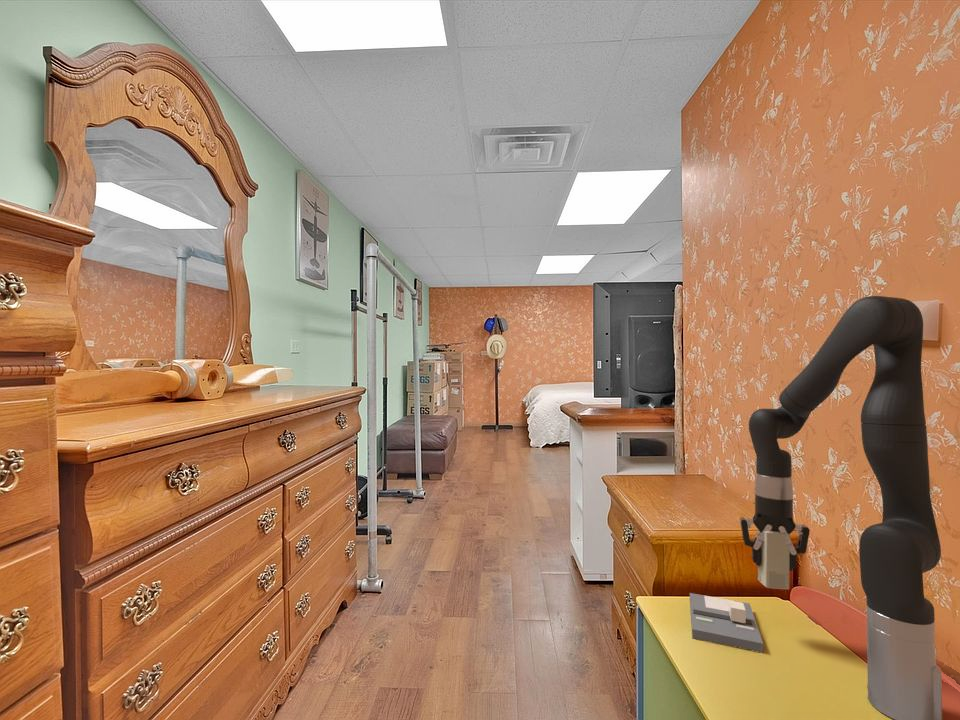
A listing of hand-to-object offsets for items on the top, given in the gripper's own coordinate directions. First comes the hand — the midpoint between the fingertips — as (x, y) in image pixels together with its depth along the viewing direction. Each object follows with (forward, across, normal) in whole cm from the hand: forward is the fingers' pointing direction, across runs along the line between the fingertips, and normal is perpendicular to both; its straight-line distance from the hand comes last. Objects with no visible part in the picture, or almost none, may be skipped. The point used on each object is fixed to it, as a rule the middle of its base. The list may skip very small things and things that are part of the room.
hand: (773, 566), depth 109 cm
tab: (+13, -7, 0) cm, 15 cm away
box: (+4, 0, 0) cm, 4 cm away
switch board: (+16, -10, +1) cm, 19 cm away
